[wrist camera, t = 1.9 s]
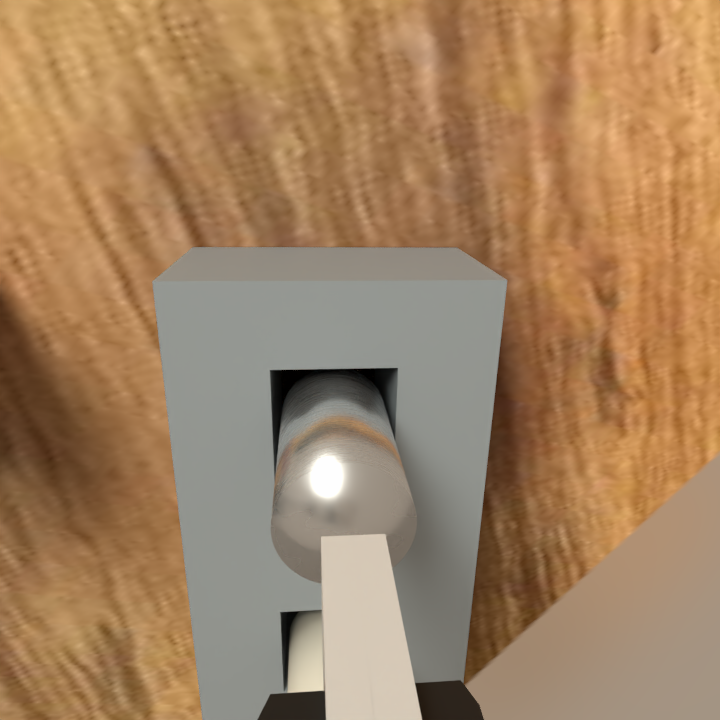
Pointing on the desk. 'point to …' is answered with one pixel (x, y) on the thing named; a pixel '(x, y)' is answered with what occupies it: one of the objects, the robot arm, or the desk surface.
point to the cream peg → (305, 653)
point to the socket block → (262, 428)
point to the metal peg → (337, 471)
